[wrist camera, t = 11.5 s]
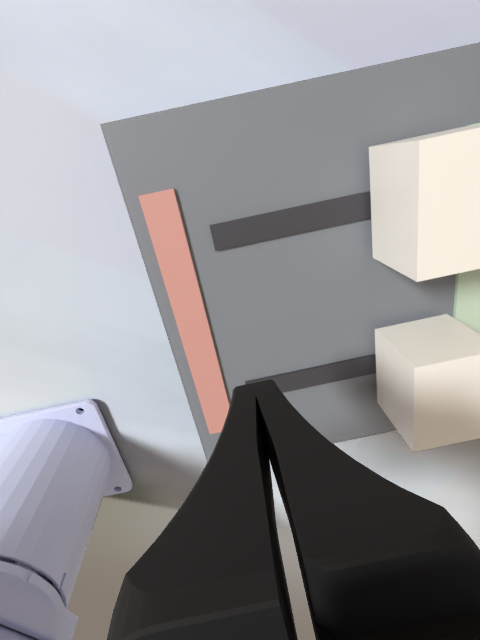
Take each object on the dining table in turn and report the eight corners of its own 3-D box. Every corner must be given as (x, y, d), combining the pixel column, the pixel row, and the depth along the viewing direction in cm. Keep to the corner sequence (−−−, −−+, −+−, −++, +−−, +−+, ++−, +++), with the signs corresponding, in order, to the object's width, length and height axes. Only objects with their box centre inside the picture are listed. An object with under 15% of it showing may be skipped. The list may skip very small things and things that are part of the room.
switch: (377, 402, 21) (413, 452, 17) (374, 329, 19) (414, 368, 15) (442, 388, 21) (492, 435, 17) (446, 313, 19) (504, 349, 15)
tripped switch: (372, 257, 17) (416, 281, 14) (368, 147, 15) (419, 140, 11) (451, 240, 17) (517, 260, 13) (458, 127, 15) (538, 114, 11)
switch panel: (209, 446, 24) (209, 471, 22) (112, 129, 16) (98, 123, 14) (460, 393, 24) (483, 414, 22) (490, 47, 16) (529, 30, 14)
